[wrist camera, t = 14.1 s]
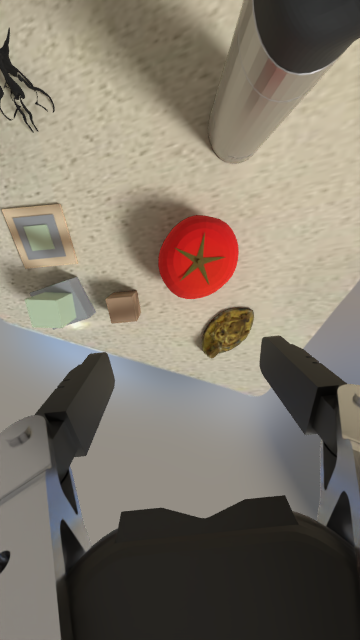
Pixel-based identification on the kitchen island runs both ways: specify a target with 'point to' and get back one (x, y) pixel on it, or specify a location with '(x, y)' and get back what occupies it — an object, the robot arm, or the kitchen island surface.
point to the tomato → (198, 257)
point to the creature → (3, 62)
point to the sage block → (51, 309)
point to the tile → (41, 235)
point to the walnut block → (123, 306)
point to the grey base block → (80, 297)
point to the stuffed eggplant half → (227, 331)
